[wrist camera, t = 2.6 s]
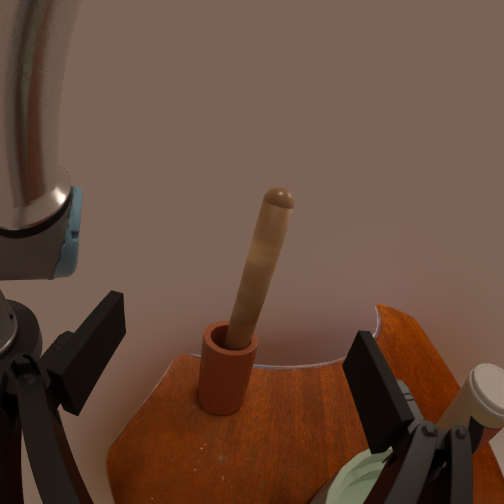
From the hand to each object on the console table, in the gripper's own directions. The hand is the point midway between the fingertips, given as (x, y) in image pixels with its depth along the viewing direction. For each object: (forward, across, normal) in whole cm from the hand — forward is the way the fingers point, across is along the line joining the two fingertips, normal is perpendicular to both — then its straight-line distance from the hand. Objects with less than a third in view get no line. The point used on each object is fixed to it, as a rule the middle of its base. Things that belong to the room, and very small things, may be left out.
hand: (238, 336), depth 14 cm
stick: (+10, 0, -17) cm, 20 cm away
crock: (+10, 0, -18) cm, 21 cm away
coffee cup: (0, +30, -18) cm, 35 cm away
